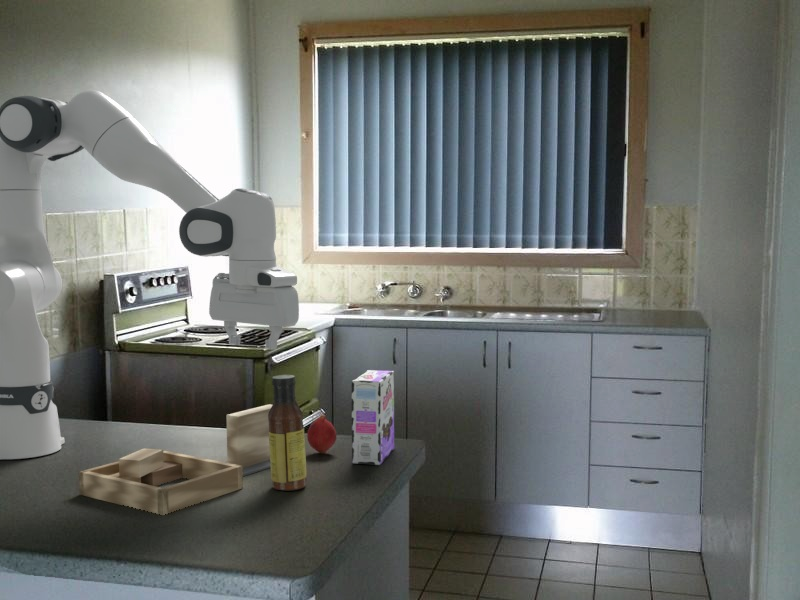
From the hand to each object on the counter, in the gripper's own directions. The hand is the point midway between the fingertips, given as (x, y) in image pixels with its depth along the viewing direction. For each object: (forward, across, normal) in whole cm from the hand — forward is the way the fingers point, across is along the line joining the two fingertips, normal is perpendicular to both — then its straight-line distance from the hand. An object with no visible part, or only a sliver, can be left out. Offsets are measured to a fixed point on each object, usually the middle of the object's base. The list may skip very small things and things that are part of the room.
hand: (252, 346), depth 184 cm
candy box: (+23, +16, +17) cm, 33 cm away
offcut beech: (+20, -6, -22) cm, 31 cm away
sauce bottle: (+23, +16, -9) cm, 29 cm away
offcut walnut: (+23, -6, -18) cm, 30 cm away
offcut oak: (+23, -6, -27) cm, 36 cm away
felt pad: (+23, 0, 0) cm, 23 cm away
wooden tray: (+23, 0, -23) cm, 32 cm away
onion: (+23, +6, +13) cm, 27 cm away
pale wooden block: (+22, 0, 0) cm, 22 cm away
